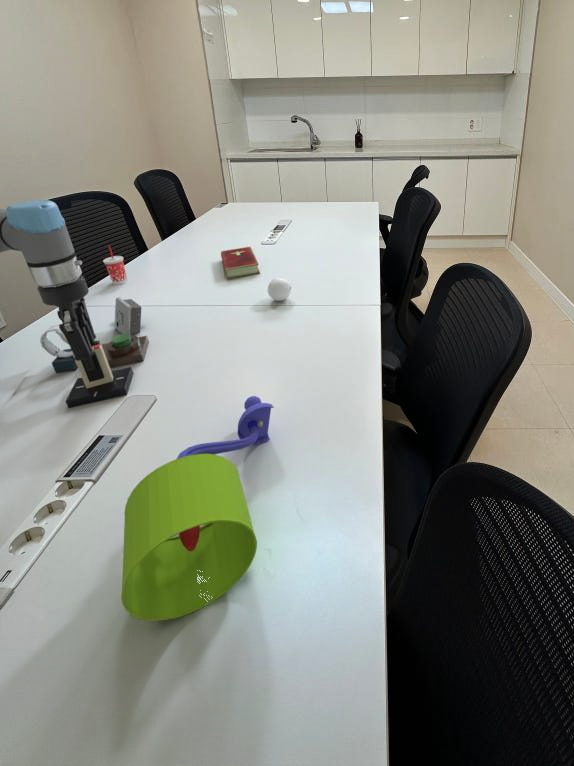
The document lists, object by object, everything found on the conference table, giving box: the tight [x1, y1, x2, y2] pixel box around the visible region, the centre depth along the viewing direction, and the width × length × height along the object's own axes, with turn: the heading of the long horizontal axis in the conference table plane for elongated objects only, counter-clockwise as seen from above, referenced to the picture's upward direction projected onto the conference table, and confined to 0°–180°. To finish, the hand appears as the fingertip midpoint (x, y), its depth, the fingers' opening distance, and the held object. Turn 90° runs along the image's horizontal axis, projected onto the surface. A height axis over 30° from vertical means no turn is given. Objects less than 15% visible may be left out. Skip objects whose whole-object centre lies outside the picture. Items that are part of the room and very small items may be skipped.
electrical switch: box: [114, 296, 142, 335], centre depth 109 cm, size 9×5×9 cm, turn 49°
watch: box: [39, 324, 79, 374], centre depth 94 cm, size 6×8×11 cm
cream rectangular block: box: [73, 343, 113, 388], centre depth 85 cm, size 5×2×9 cm, turn 117°
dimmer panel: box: [65, 366, 134, 409], centre depth 87 cm, size 11×9×2 cm
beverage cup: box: [102, 245, 128, 285], centre depth 139 cm, size 6×6×14 cm
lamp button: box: [111, 333, 132, 348], centre depth 98 cm, size 4×4×2 cm
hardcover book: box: [220, 246, 261, 280], centre depth 151 cm, size 12×21×4 cm, turn 24°
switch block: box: [100, 334, 150, 369], centre depth 98 cm, size 12×9×4 cm
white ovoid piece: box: [267, 277, 292, 302], centre depth 125 cm, size 10×7×7 cm
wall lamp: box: [120, 395, 275, 622], centre depth 60 cm, size 15×23×30 cm
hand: (97, 376), depth 86 cm, fingers closed on cream rectangular block, 2 cm apart
